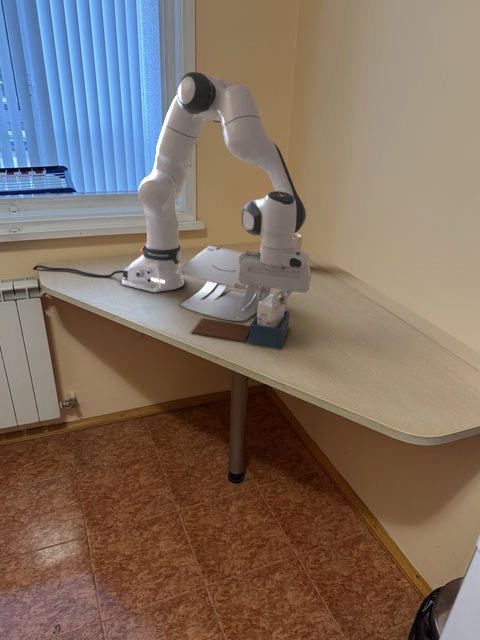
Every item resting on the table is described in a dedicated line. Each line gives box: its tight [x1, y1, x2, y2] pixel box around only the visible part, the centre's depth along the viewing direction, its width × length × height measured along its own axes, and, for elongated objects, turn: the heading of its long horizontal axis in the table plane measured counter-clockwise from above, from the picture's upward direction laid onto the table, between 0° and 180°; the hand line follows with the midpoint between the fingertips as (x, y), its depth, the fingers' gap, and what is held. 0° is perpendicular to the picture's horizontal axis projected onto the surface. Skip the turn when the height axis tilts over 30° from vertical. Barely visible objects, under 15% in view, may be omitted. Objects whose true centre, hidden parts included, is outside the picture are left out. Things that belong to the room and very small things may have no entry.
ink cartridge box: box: [256, 289, 287, 328], centre depth 140 cm, size 9×5×15 cm, turn 148°
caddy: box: [248, 310, 291, 350], centre depth 143 cm, size 9×13×6 cm
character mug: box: [293, 232, 303, 251], centre depth 195 cm, size 11×7×13 cm, turn 131°
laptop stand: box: [175, 245, 272, 323], centre depth 160 cm, size 26×24×16 cm
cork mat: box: [191, 317, 250, 343], centre depth 146 cm, size 16×10×1 cm, turn 74°
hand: (272, 301), depth 139 cm, fingers closed on ink cartridge box, 5 cm apart
